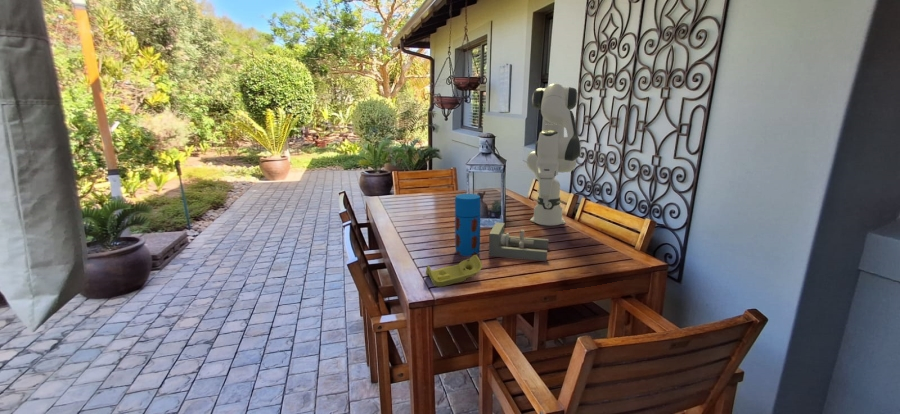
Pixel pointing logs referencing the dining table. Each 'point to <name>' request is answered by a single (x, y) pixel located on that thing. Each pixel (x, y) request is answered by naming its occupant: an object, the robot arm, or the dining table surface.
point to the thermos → (467, 224)
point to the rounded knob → (505, 239)
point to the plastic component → (455, 272)
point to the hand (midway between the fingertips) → (545, 202)
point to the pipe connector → (521, 240)
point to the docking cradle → (518, 253)
